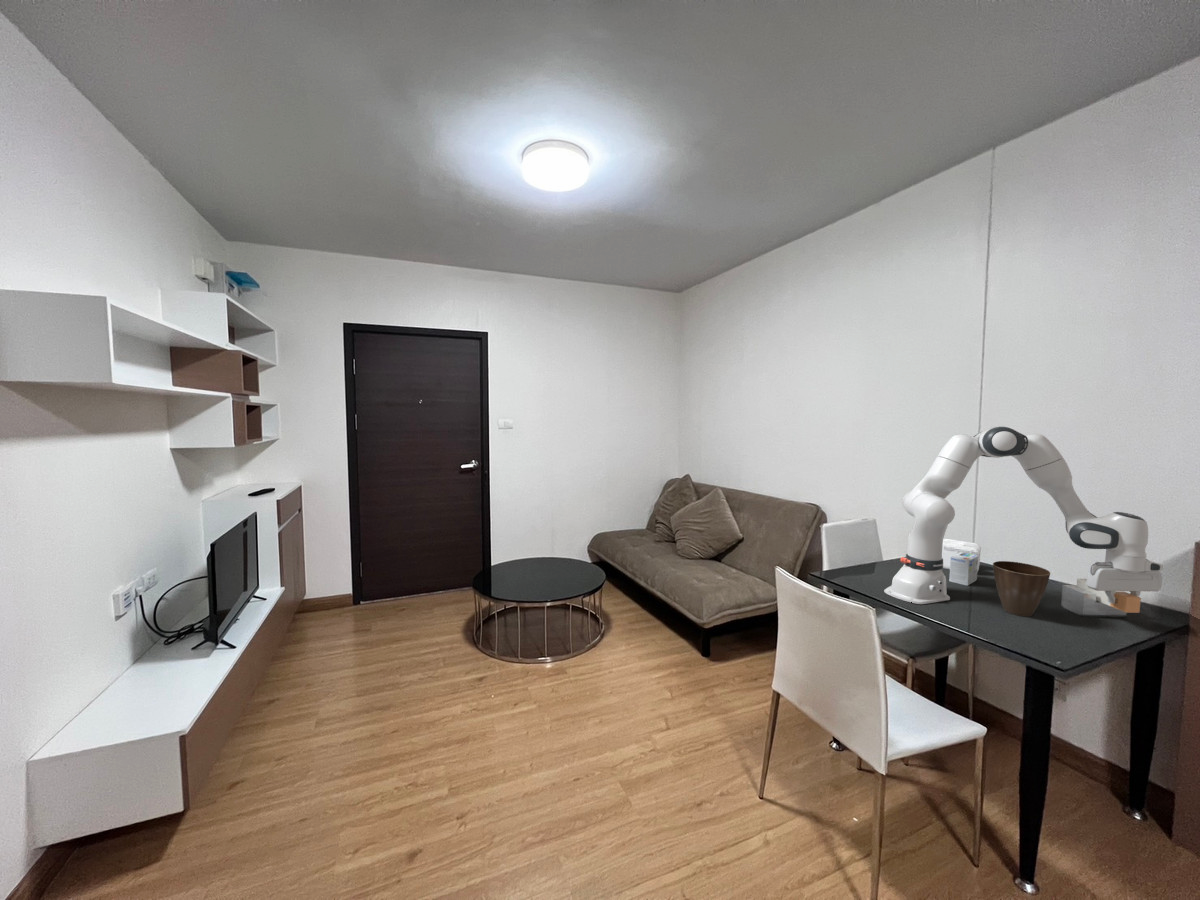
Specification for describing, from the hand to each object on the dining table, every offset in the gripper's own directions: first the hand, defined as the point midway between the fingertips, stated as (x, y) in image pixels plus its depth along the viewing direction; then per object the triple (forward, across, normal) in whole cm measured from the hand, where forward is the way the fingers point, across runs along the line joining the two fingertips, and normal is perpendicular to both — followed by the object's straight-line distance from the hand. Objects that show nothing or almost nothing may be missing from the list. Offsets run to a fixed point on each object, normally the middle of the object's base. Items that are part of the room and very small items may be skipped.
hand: (1121, 603), depth 154 cm
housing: (+7, 0, +9) cm, 11 cm away
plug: (+2, 0, +5) cm, 5 cm away
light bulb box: (+7, -24, +38) cm, 45 cm away
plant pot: (+7, -26, +8) cm, 28 cm away
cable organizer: (+7, -15, +53) cm, 56 cm away
